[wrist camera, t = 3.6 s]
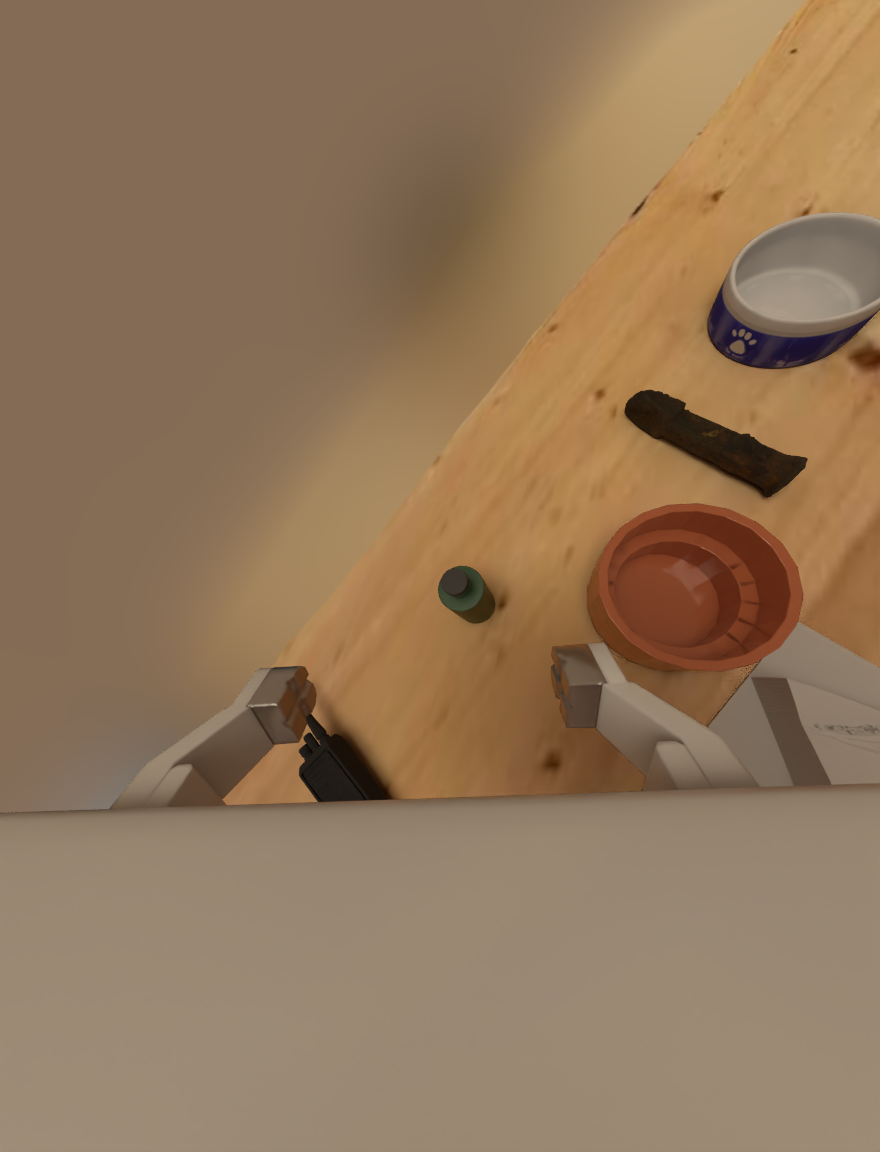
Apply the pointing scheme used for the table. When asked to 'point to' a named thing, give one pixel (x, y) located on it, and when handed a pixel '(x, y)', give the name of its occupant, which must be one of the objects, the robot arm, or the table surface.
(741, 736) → the ramp
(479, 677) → the table surface
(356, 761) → the walkie-talkie
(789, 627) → the pot
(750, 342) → the dog bowl
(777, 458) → the dark brown rough bar
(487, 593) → the plant food bottle
